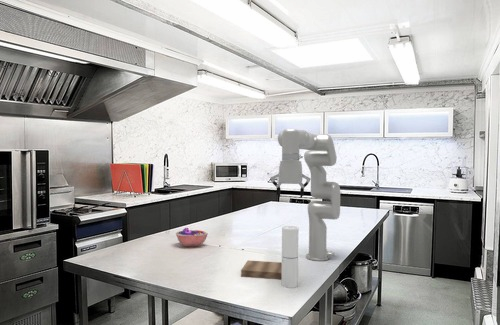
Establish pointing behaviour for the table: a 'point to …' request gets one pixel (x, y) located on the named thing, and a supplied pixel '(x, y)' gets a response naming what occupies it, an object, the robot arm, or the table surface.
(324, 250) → the robot arm
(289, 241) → the cylindrical container
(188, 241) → the cell model
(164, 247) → the table surface
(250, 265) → the walnut base board
